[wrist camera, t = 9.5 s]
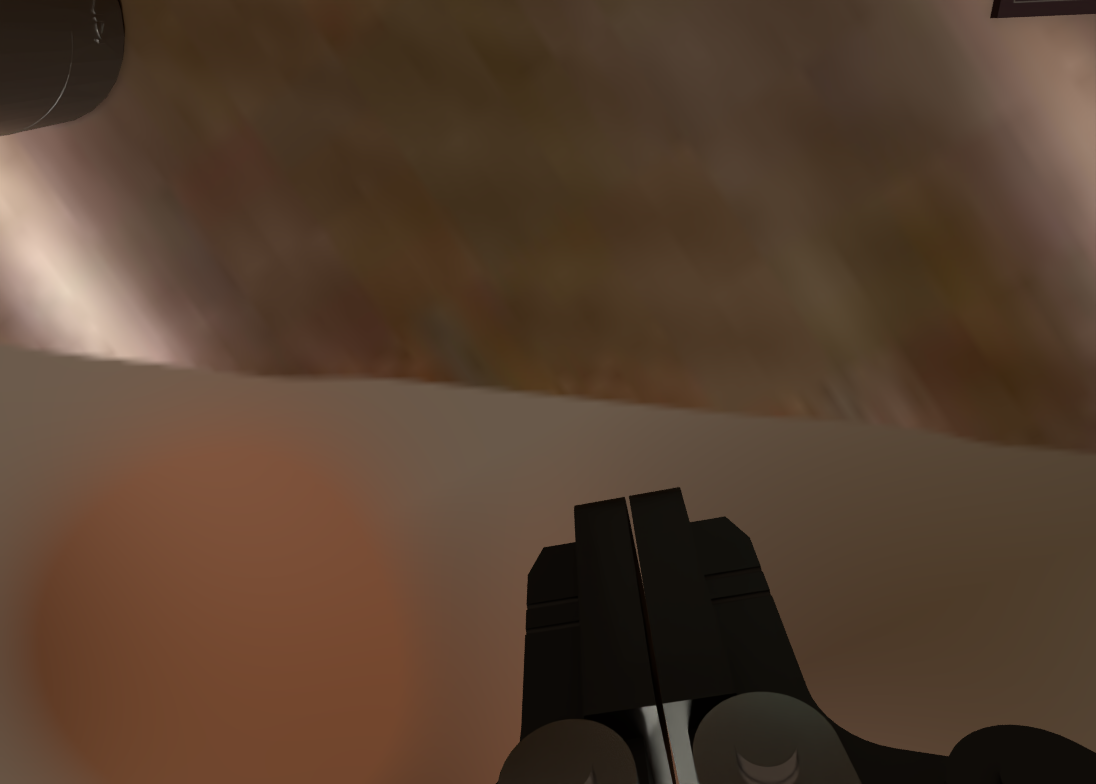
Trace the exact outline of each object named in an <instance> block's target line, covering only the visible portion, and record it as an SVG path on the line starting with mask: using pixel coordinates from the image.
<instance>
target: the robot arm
mask: <svg viewBox="0 0 1096 784" xmlns="http://www.w3.org/2000/svg"><path fill="white" fill-rule="evenodd" d="M123 50H124V28H123V21H122V14H121V9H120V5H119V2H118V0H0V136H4V135H10V134H14V133H19V132H23V131H28V130H32V129H37V128H41V127H46V126H50V125H55V124H59V123H64V122H68V121H72V120H76V119H78V118H79V117H81V116H83V115H85V114H87V113H89V112H91V111H92V110H93V109H95V108H96V107H97V106H98V105H99V104H100V103H101V102H102V101H103V100H104V99H105V98H106V97H107V95H108V94H109V92H110V90H111V89H112V87H113V85H114V84H115V82H116V80H117V77H118V74H119V71H120V67H121V64H122V60H123ZM629 499H630V506H631V511H632V518H633V524H634V530H635V536H636V543H637V549H638V555H639V561H640V567H641V573H642V578H641V573H640V568H639V563H638V559H637V554H636V549H635V544H634V539H633V534H632V529H631V524H630V519H629V514H628V509H627V505H626V500H625V497H622V498H616V499H610V500H604V501H599V502H593V503H588V504H582V505H576V506H575V507H574V518H575V538H576V542H574V543H568V544H562V545H556V546H550V547H544V548H543V550H542V551H541V553H540V555H539V556H538V558H537V560H536V562H535V564H534V565H533V567H532V569H531V570H530V572H529V574H528V584H527V610H526V635H525V654H524V678H523V679H524V680H523V701H522V726H521V736H520V742H519V743H518V745H516V747H515V748H514V749H513V750H512V751H511V753H510V754H509V756H508V757H507V759H506V761H505V763H504V765H503V767H502V770H501V772H500V775H499V780H498V782H497V783H496V784H676V780H675V774H674V769H673V762H672V756H671V750H670V744H669V738H668V732H669V737H670V741H671V746H672V751H673V756H674V761H675V765H676V770H677V775H678V780H679V784H1096V753H1095V752H1093V751H1091V750H1089V749H1087V748H1085V747H1083V746H1082V745H1079V744H1077V743H1076V742H1074V741H1071V740H1069V739H1067V738H1065V737H1063V736H1061V735H1058V734H1055V733H1052V732H1049V731H1046V730H1042V729H1038V728H1033V727H1029V726H1020V725H997V726H991V727H986V728H983V729H980V730H977V731H974V732H972V733H971V734H969V735H967V736H966V737H964V738H963V739H962V740H961V741H960V742H959V743H957V744H956V746H955V747H954V748H953V750H952V752H951V753H950V755H949V757H948V756H942V755H935V754H929V753H922V752H915V751H909V750H902V749H896V748H891V747H886V746H881V745H878V744H875V743H872V742H869V741H866V740H864V739H861V738H859V737H857V736H855V735H853V734H851V733H849V732H848V731H846V730H844V729H843V728H841V727H840V726H838V725H837V724H836V723H834V722H833V721H832V720H831V719H830V718H828V717H827V716H826V715H825V714H824V713H823V712H822V710H821V709H820V708H819V707H818V706H817V704H816V703H815V701H814V700H813V699H812V697H811V695H810V693H809V691H808V689H807V686H806V684H805V681H804V678H803V676H802V673H801V670H800V668H799V665H798V663H797V660H796V658H795V655H794V652H793V649H792V647H791V645H790V642H789V639H788V637H787V634H786V631H785V629H784V626H783V624H782V621H781V618H780V615H779V613H778V610H777V608H776V605H775V602H774V600H773V597H772V596H771V594H770V589H769V587H768V584H767V582H766V579H765V576H764V574H763V572H762V571H761V566H760V563H759V561H758V558H757V555H756V553H755V550H754V548H753V545H752V542H751V540H750V538H749V537H748V536H747V535H746V534H745V533H744V532H743V531H741V530H740V529H739V528H738V527H737V526H736V525H735V524H733V523H732V522H731V521H730V520H729V519H728V518H726V517H719V518H714V519H708V520H702V521H696V522H689V518H688V515H687V511H686V507H685V504H684V500H683V497H682V493H681V490H680V487H677V488H672V489H666V490H660V491H655V492H649V493H643V494H638V495H632V496H629ZM642 579H643V583H642ZM643 586H644V588H643ZM644 592H645V593H644ZM645 598H646V599H645ZM665 718H666V719H665ZM666 722H667V725H666ZM667 727H668V731H667Z"/></svg>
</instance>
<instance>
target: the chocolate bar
mask: <svg viewBox="0 0 1096 784" xmlns="http://www.w3.org/2000/svg"><path fill="white" fill-rule="evenodd" d="M1077 14H1096V0H994V2H993V7H992V12H991V17H990V18H1009V17H1032V16H1055V15H1077Z"/></svg>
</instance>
